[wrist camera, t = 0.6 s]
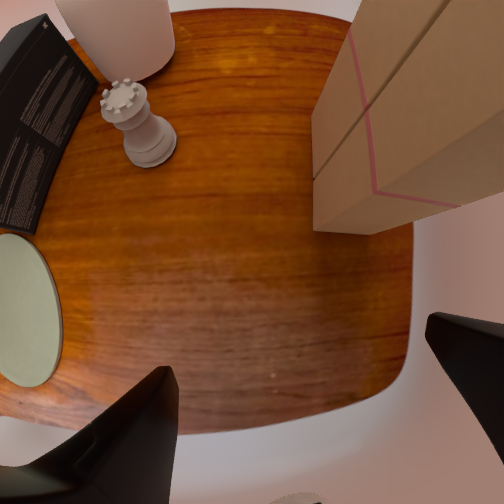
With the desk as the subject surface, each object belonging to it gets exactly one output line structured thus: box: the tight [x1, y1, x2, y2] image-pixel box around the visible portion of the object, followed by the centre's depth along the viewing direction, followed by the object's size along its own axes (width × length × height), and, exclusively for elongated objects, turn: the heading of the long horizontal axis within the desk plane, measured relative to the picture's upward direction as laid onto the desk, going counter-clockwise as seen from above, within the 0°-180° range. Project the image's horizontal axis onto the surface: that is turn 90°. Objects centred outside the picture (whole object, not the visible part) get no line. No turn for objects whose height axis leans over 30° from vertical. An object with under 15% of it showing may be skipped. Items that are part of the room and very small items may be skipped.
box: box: [0, 13, 99, 235], centre depth 15 cm, size 17×7×12 cm, turn 163°
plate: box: [0, 234, 63, 387], centre depth 19 cm, size 16×16×1 cm
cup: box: [55, 0, 175, 84], centre depth 15 cm, size 8×8×14 cm
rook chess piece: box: [100, 78, 176, 168], centre depth 17 cm, size 4×4×8 cm
